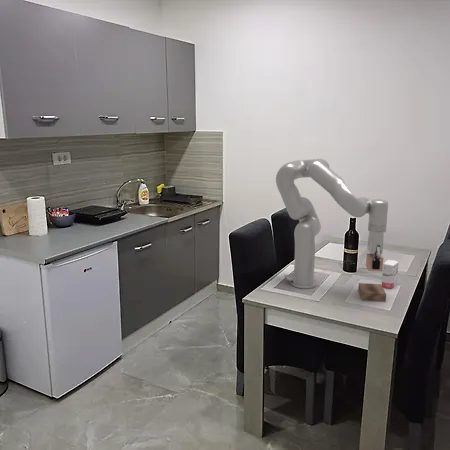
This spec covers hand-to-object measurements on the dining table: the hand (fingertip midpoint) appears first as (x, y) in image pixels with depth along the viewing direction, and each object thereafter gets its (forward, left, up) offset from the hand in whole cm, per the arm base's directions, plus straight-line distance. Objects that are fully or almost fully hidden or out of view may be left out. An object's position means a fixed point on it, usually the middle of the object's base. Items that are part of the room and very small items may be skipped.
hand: (374, 266), depth 198 cm
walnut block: (0, 0, -15) cm, 15 cm away
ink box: (+11, +14, -14) cm, 23 cm away
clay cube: (0, 0, -1) cm, 1 cm away
